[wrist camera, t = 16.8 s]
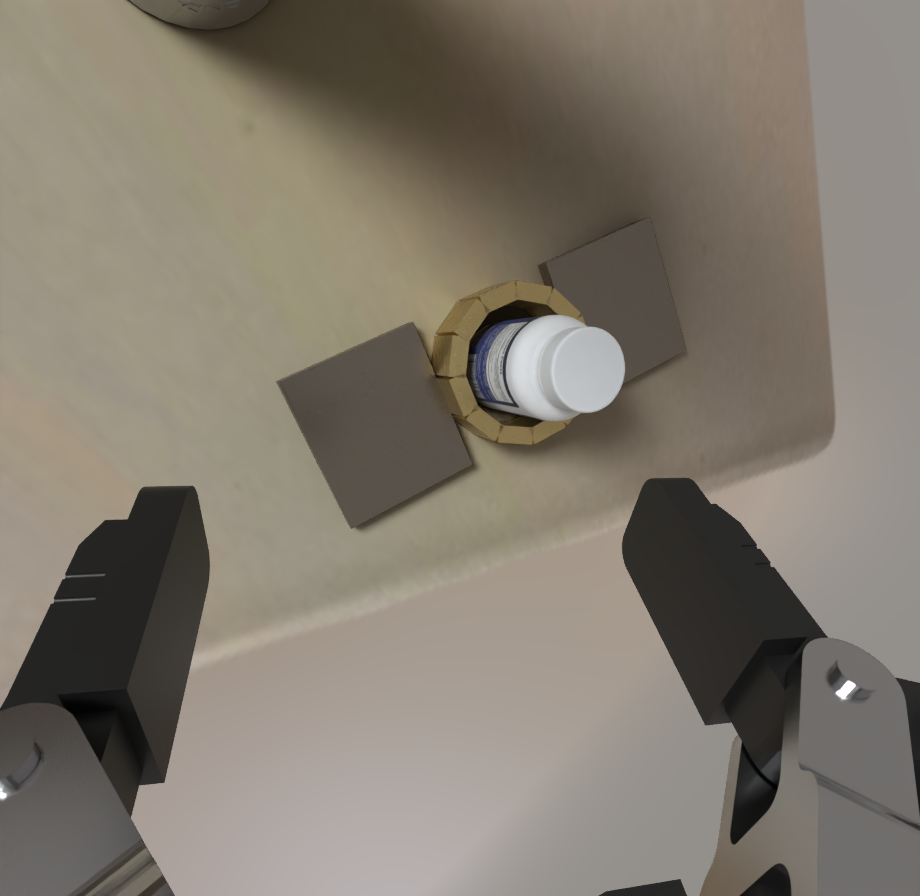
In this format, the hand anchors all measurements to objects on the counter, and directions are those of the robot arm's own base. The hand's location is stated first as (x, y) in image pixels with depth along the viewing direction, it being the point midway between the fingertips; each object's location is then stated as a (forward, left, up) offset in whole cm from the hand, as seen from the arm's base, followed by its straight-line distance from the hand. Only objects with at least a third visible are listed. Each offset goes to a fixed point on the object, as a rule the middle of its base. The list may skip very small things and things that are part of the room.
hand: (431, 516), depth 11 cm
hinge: (+3, +12, -23) cm, 26 cm away
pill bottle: (+3, +12, -23) cm, 26 cm away
